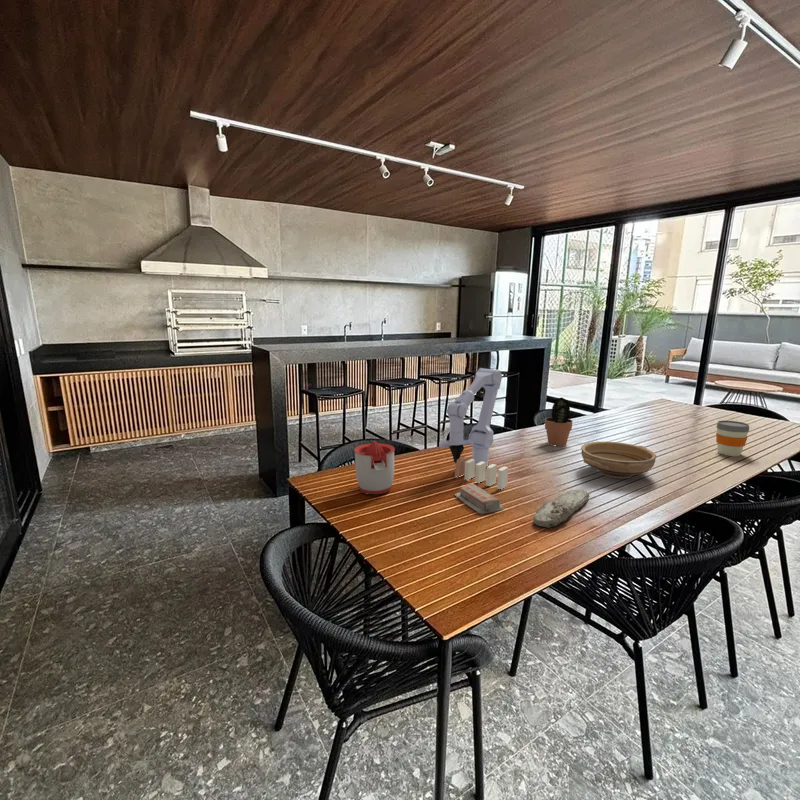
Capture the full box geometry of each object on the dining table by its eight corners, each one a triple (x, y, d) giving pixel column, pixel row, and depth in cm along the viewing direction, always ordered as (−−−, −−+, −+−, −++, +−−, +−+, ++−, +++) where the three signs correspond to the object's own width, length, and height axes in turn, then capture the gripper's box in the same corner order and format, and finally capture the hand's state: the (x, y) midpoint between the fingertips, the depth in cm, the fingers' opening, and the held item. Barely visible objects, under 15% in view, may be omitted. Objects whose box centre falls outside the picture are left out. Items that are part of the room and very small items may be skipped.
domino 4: (485, 486, 171) (486, 467, 170) (492, 482, 175) (492, 463, 174) (490, 487, 170) (490, 468, 169) (496, 483, 174) (496, 464, 172)
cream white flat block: (464, 480, 178) (464, 461, 176) (470, 476, 182) (471, 458, 180) (468, 481, 177) (468, 462, 175) (474, 477, 180) (475, 459, 179)
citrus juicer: (360, 502, 157) (358, 450, 154) (352, 485, 174) (350, 437, 170) (401, 497, 161) (400, 446, 158) (389, 480, 178) (389, 434, 174)
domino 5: (497, 489, 168) (497, 469, 167) (503, 485, 172) (503, 466, 170) (501, 490, 167) (502, 470, 166) (507, 486, 171) (508, 467, 169)
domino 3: (475, 483, 175) (475, 464, 173) (481, 479, 178) (481, 461, 177) (478, 484, 173) (479, 465, 172) (485, 480, 177) (485, 462, 176)
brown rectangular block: (454, 477, 181) (456, 459, 179) (460, 473, 185) (463, 456, 182) (458, 478, 180) (460, 460, 178) (464, 475, 184) (466, 457, 181)
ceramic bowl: (618, 493, 163) (621, 468, 161) (558, 470, 187) (559, 448, 186) (674, 475, 181) (677, 452, 179) (612, 457, 205) (614, 436, 203)
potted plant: (538, 442, 230) (540, 396, 225) (557, 439, 236) (560, 394, 231) (557, 449, 218) (560, 401, 213) (576, 445, 223) (580, 398, 219)
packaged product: (505, 497, 150) (481, 502, 146) (504, 510, 151) (480, 516, 147) (476, 480, 166) (453, 484, 162) (475, 492, 167) (453, 496, 163)
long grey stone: (596, 503, 158) (569, 497, 165) (596, 489, 158) (569, 484, 164) (555, 533, 133) (525, 524, 140) (555, 516, 133) (526, 508, 139)
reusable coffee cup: (752, 457, 202) (756, 426, 200) (725, 457, 203) (729, 426, 200) (732, 449, 215) (736, 420, 212) (707, 449, 215) (710, 420, 212)
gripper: (468, 427, 185) (468, 457, 188) (437, 430, 182) (436, 460, 184) (475, 431, 179) (474, 462, 181) (442, 434, 175) (442, 466, 178)
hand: (456, 462), depth 182 cm, fingers closed
